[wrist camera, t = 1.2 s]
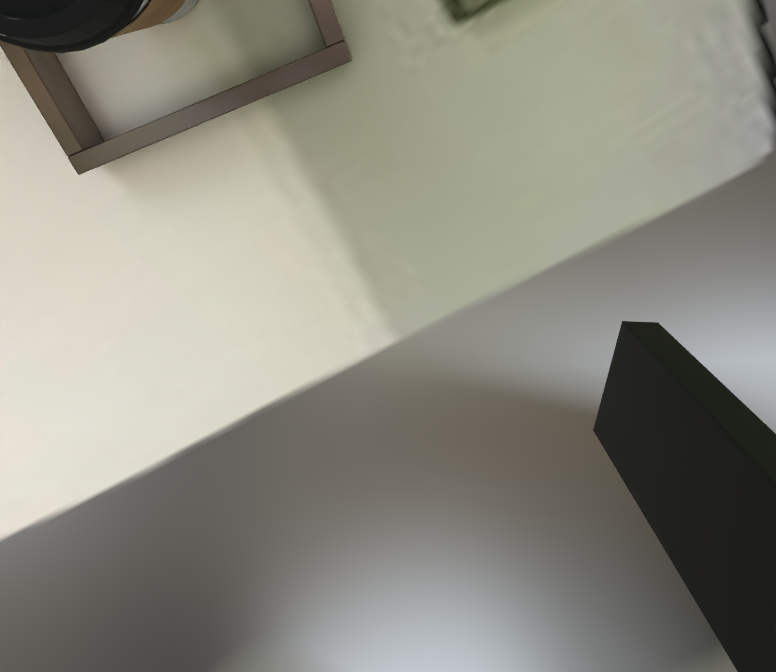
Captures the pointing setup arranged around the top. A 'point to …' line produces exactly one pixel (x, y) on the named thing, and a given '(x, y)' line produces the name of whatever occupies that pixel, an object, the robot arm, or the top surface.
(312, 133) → the top surface
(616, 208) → the top surface
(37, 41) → the coffee cup
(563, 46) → the top surface
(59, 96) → the wooden square frame
